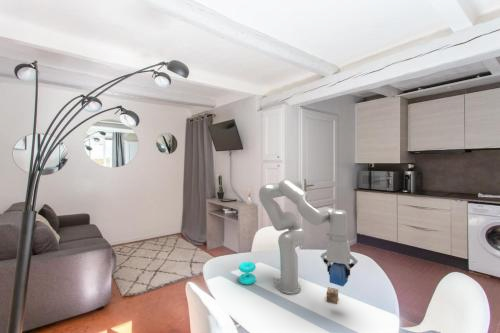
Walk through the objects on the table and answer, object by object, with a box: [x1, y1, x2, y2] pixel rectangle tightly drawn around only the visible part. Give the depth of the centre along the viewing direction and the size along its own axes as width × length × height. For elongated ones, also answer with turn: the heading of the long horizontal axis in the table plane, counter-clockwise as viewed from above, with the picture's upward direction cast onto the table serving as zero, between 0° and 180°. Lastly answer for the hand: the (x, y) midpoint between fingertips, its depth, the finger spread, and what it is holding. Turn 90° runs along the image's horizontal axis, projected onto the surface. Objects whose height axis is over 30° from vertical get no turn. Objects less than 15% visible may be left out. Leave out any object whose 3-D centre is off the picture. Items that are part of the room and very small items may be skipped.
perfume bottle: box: [328, 263, 349, 287], centre depth 114 cm, size 6×6×12 cm
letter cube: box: [326, 286, 339, 305], centre depth 124 cm, size 5×5×5 cm
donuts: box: [238, 261, 257, 286], centre depth 145 cm, size 10×10×10 cm
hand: (338, 274), depth 114 cm, fingers closed on perfume bottle, 7 cm apart
